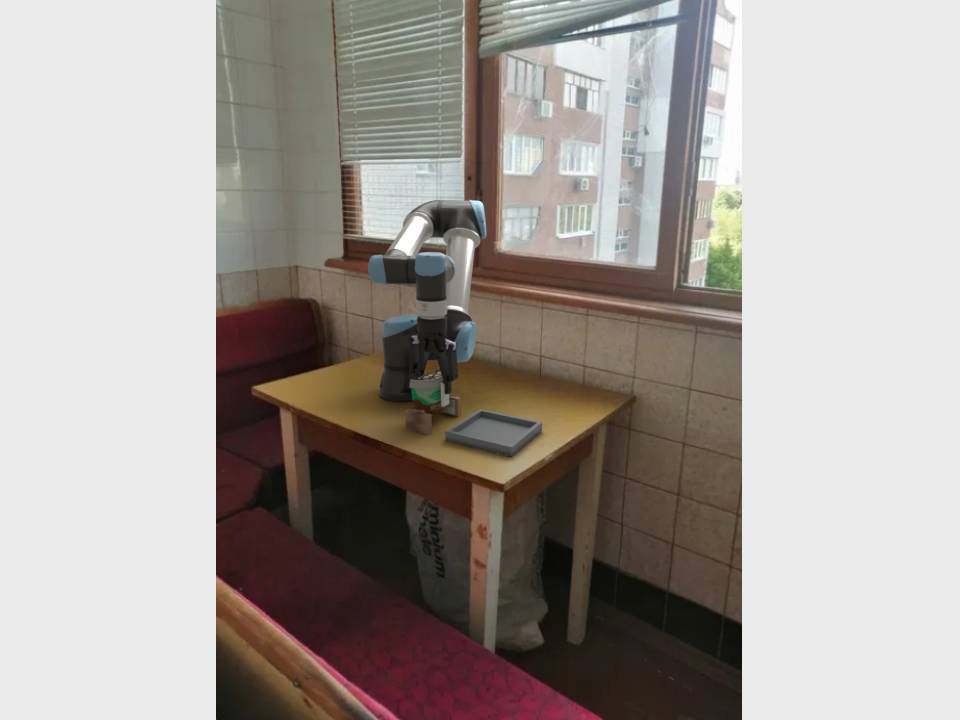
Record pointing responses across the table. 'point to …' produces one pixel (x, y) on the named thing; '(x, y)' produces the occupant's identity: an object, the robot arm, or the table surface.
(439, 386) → the food container
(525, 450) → the table surface
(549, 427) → the table surface
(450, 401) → the brown rectangular blocks
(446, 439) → the tray
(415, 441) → the table surface
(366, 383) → the table surface
